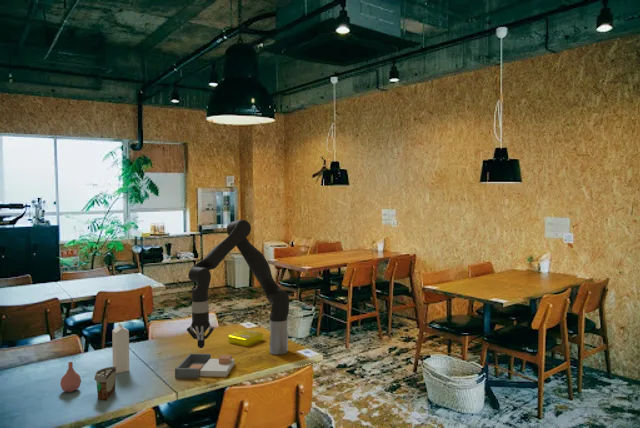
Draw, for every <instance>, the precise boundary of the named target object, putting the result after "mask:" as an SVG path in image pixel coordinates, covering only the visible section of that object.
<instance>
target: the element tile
mask: <svg viewBox="0 0 640 428" xmlns="http://www.w3.org/2000/svg"><path fill="white" fill-rule="evenodd" d="M227 340H228V343H229V344H233V345H237V346H241V347H250V346H253V345H256V344H257V343H259V342H263V341H264V333H263V332H260V331H254V330H249V329H241V330H239V331H235V332H234V333H230V334H228V336H227Z"/></svg>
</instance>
